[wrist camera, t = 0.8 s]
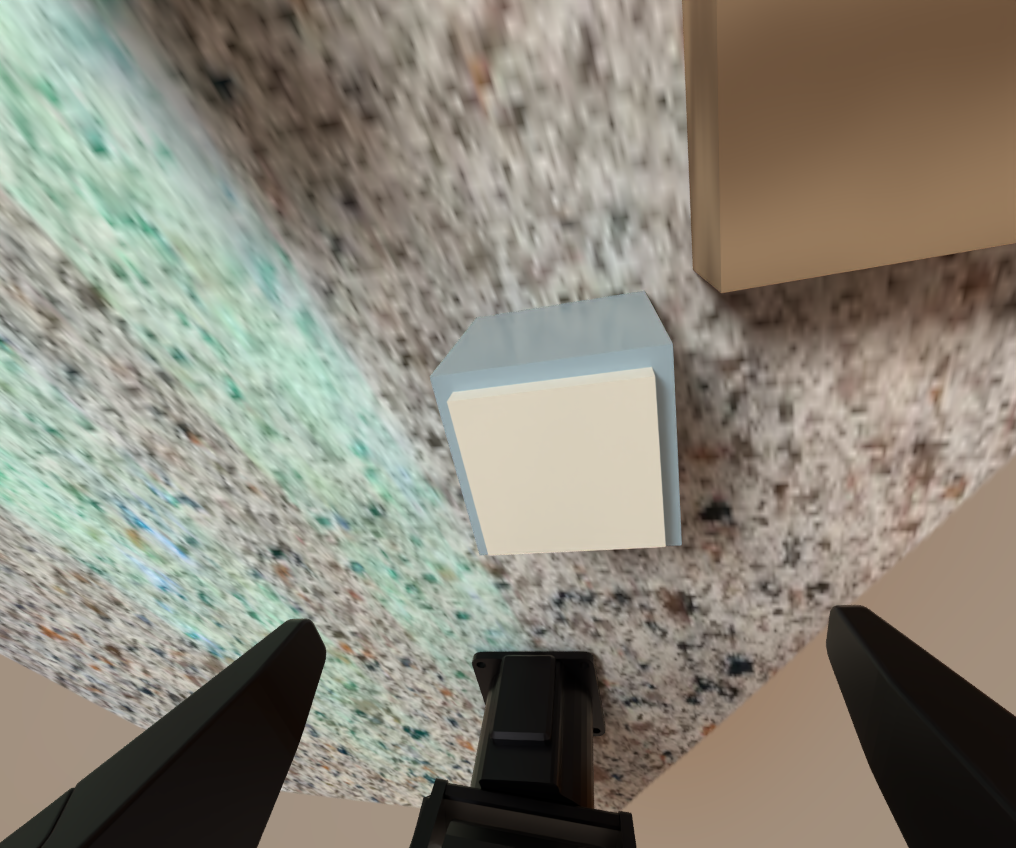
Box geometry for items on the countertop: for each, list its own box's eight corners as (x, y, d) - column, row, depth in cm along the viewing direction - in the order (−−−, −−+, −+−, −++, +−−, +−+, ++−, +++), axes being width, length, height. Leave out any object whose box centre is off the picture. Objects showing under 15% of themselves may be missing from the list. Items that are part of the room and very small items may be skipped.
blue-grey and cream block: (654, 442, 19) (685, 560, 13) (507, 456, 20) (476, 569, 14) (644, 290, 16) (677, 352, 10) (476, 317, 18) (422, 385, 12)
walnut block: (1013, 209, 14) (1157, 219, 10) (691, 268, 16) (721, 292, 12) (1113, -241, 10) (1394, -465, 7) (675, -92, 12) (713, -202, 9)
